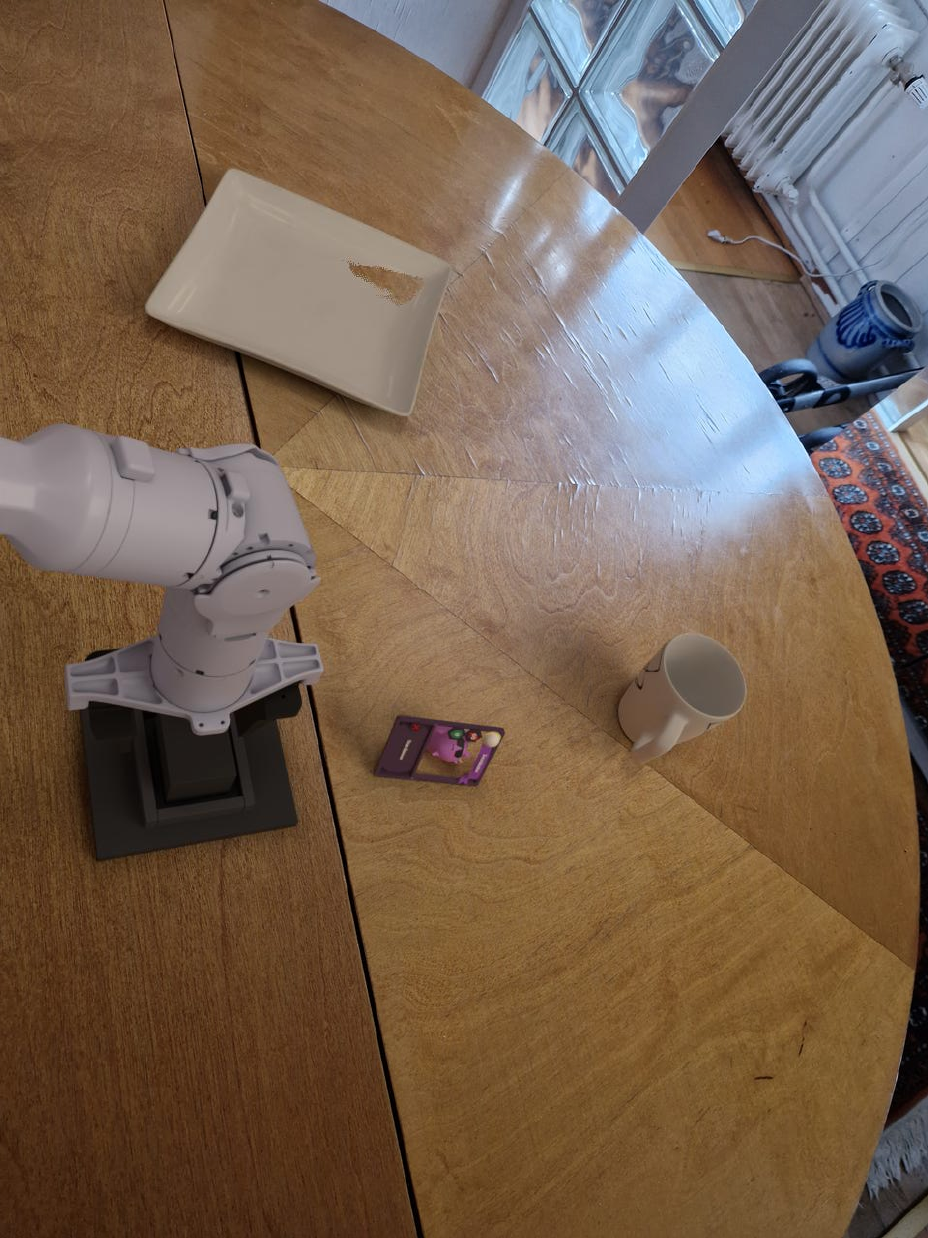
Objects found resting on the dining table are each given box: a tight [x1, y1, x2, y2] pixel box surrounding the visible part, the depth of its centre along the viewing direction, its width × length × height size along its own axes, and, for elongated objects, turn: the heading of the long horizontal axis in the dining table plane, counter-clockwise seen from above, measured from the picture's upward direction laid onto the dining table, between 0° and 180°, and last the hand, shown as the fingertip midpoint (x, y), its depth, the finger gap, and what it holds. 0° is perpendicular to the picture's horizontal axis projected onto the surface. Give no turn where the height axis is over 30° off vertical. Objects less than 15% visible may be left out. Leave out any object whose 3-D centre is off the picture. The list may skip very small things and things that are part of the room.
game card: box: [374, 714, 506, 787], centre depth 73 cm, size 7×5×9 cm
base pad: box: [79, 707, 299, 862], centre depth 66 cm, size 14×12×2 cm
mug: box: [617, 631, 747, 765], centre depth 80 cm, size 11×8×10 cm
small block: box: [153, 713, 236, 804], centre depth 64 cm, size 4×6×4 cm
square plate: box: [144, 167, 453, 417], centre depth 95 cm, size 27×27×4 cm
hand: (182, 730), depth 59 cm, fingers open, 7 cm apart
